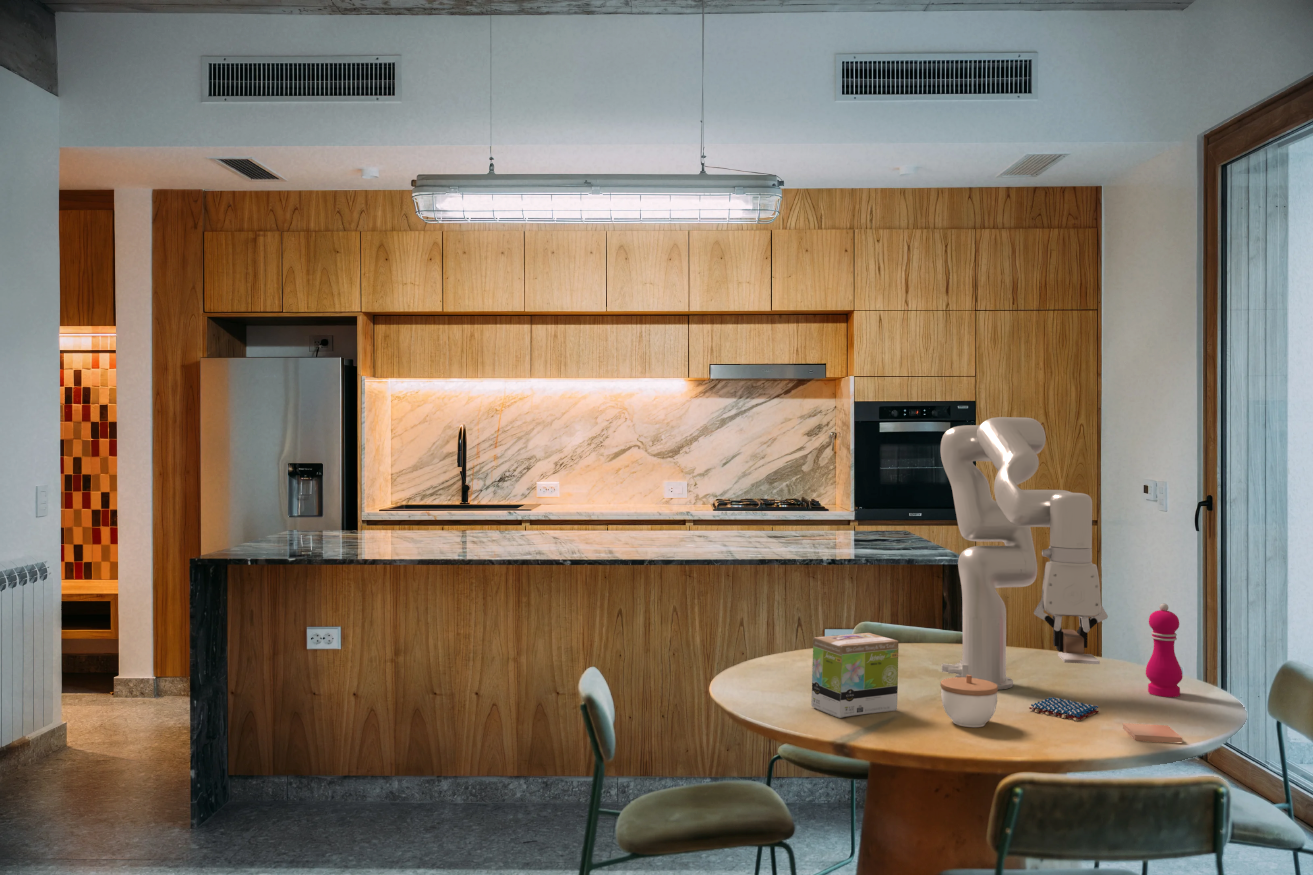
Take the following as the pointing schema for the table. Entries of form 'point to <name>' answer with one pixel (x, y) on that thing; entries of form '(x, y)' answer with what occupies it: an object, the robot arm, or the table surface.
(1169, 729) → the tile
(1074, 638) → the turner
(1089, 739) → the table surface
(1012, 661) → the table surface
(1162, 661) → the pepper mill
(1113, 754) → the table surface
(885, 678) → the tea box
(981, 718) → the lidded jar
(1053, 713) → the woven mat
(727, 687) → the table surface
